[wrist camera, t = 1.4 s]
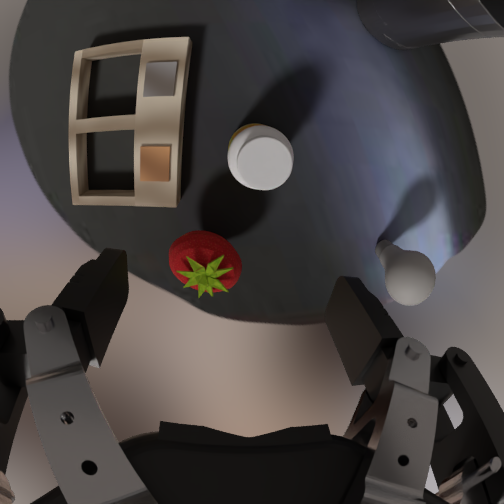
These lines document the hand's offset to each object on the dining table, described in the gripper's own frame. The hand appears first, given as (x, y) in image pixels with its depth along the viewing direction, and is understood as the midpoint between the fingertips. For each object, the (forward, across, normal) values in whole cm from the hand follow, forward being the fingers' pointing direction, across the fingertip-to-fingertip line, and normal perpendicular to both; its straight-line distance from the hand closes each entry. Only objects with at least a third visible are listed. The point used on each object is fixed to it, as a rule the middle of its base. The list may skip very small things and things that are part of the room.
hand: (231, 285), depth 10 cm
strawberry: (+21, +1, +8) cm, 23 cm away
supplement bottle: (+21, -2, -3) cm, 21 cm away
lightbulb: (+21, -21, +6) cm, 30 cm away
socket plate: (+21, +12, -5) cm, 24 cm away
